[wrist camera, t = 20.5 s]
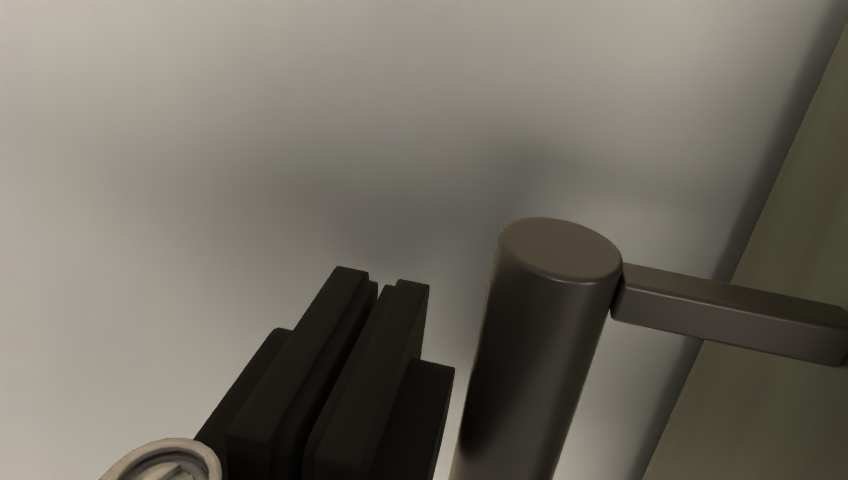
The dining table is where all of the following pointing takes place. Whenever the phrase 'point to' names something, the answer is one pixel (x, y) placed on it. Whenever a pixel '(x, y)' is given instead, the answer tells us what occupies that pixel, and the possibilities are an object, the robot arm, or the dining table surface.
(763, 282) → the drawer
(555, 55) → the dining table surface
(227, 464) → the robot arm
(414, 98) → the dining table surface
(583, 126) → the dining table surface
